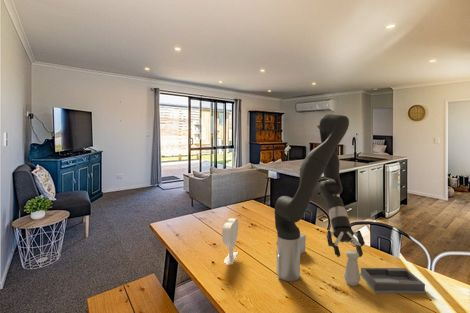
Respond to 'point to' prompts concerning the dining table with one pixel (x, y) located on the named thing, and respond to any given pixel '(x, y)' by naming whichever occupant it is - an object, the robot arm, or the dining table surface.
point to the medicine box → (302, 243)
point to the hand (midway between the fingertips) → (349, 256)
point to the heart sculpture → (230, 238)
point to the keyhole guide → (392, 280)
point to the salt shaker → (352, 268)
